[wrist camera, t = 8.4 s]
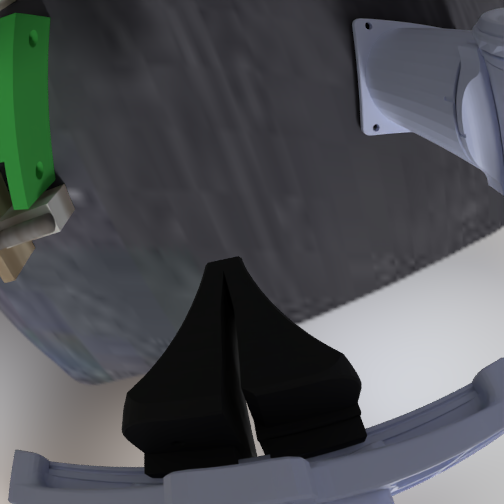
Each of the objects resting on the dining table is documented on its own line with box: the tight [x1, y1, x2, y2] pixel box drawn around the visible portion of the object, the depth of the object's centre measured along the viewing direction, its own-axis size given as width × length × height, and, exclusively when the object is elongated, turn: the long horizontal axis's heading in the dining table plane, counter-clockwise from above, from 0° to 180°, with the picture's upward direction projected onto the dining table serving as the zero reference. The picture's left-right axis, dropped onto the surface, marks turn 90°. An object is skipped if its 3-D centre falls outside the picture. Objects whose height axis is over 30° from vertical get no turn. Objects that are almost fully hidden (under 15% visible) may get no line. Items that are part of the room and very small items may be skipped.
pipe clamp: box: [0, 13, 56, 210], centre depth 13 cm, size 11×4×5 cm, turn 174°
